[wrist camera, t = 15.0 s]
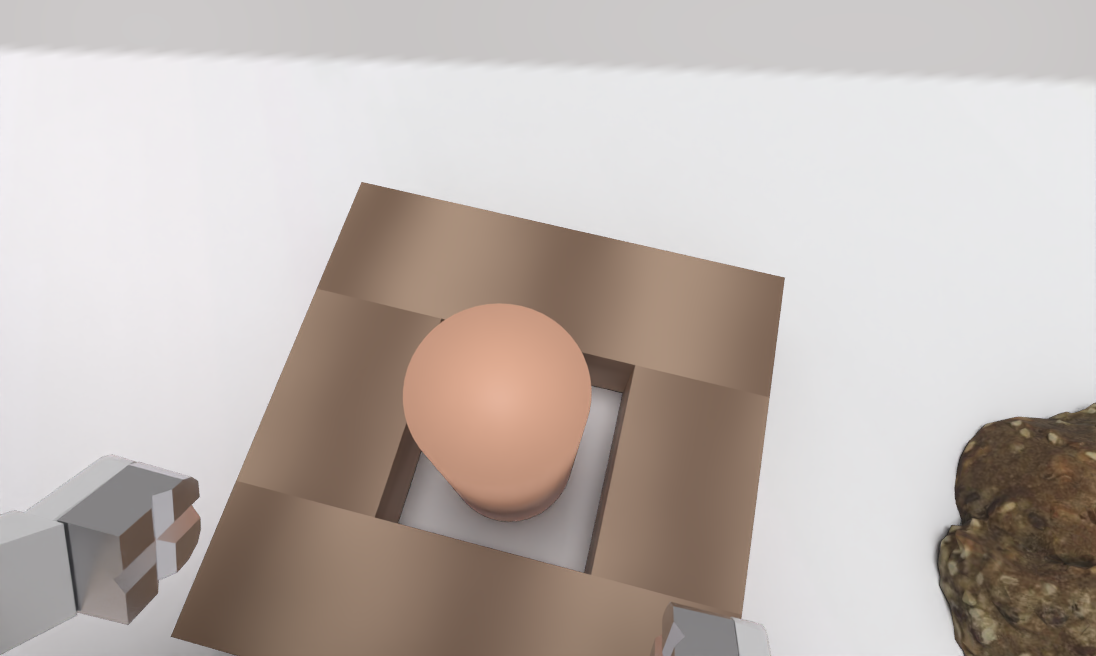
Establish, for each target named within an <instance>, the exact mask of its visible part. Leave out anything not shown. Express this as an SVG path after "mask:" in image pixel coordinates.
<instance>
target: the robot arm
mask: <svg viewBox="0 0 1096 656" xmlns="http://www.w3.org/2000/svg"><path fill="white" fill-rule="evenodd" d="M199 497H200V496H199V485H198V481H197V480H196V479H194V478H192V477H190V476H187V475H183V474H180V473H176V472H173V471H169V470H166V469H162V468H159V467H155V466H152V465H148V464H145V463H142V462H136V461H132V460H129V459H125V458H122V457H119V456H115V455H108V456H104V457H101V458H99V459H98V460H97V461H95V462H94V463H92V464H91V465H90V466H88V467H87V468H85V469H84V470H83V471H81V472H80V473H78V474H77V475H76V476H74V477H73V478H71V479H70V480H69V481H67V482H66V483H64V484H63V485H62V486H60V487H59V488H57V489H56V490H55V491H53V492H52V493H50V494H49V495H48V496H46V497H45V498H43V499H42V500H41V501H39V502H38V503H37V504H35V505H34V506H32V507H31V508H30V509H28V510H27V511H25V512H24V513H23V512H19V511H15V510H14V511H11V512H8V513H4V514H1V515H0V655H1V654H3V653H5V652H7V651H9V650H11V649H13V648H15V647H17V646H19V645H21V644H23V643H24V642H26V641H28V640H30V639H32V638H34V637H36V636H38V635H40V634H42V633H44V632H46V631H48V630H50V629H52V628H54V627H55V626H57V625H59V624H61V623H63V622H65V621H67V620H69V619H71V618H73V617H75V616H76V615H77V612H78V613H82V614H86V615H90V616H94V617H98V618H102V619H106V620H110V621H114V622H118V623H122V624H126V625H129V624H130V623H131V622H132V620H133V619H134V618H135V617H136V616H137V615H138V614H139V613H140V612H141V611H142V610H143V609H144V608H145V607H146V605H147V604H148V603H149V602H150V601H151V600H152V599H153V598H154V597H155V596H156V595H157V594H158V583H159V580H161V579H163V578H166V577H168V576H170V575H173V574H175V573H177V572H178V571H179V570H180V569H181V568H182V566H183V565H184V564H185V563H186V562H187V561H188V560H189V558H190V556H191V554H192V552H193V550H194V548H195V547H196V545H197V543H198V539H199V534H200V530H201V524H200V516H199V515H198V514H197V512H196V511H195V509H194V508H193V506H192V504H193V503H194V502H195V501H196V500H197V499H198V498H199ZM650 656H771V652H770V647H769V642H768V637H767V632H766V629H765V628H764V626H763V625H762V624H759V623H755V622H751V621H747V620H743V619H738V618H734V617H729V616H725V615H721V614H718V613H714V612H710V611H706V610H702V609H698V608H694V607H690V606H686V605H682V604H678V603H674V602H669V604H668V605H667V607H666V609H665V612H664V615H663V617H662V635H660V636H658V637H656V638H655V640H654V643H653V646H652V649H651V652H650Z"/></svg>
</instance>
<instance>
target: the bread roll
mask: <svg viewBox="0 0 1096 656" xmlns="http://www.w3.org/2000/svg"><path fill="white" fill-rule="evenodd" d="M955 500H956V505H957V508H958V511H959V513H960V516H961V519H962V523H961V525H960V526H957V525H951V527H950V530H949V532H948V535H947V536H946V537H945V538H944V539H943V540H942V541H941V546H940V553H939V559H938V567H939V572H940V587H941V589H942V591H943V593H944V595H945V597H946V599H947V600H948V602H949V604H950V607H951V610H952V619H953V625H954V634H955V640H956V642H957V643H958V644H959V646H960V647H961V648H962V649H963V651H964V654H965V656H1096V403H1093V404H1092V405H1090V406H1089V407H1087V408H1086V409H1084V410H1081V411H1079V412H1075V413H1069V412H1064V413H1060V414H1057V415H1055V416H1053V417H1051V418H1049V419H1042V418H1029V417H1014V418H1009V419H1005V420H1001V421H997V422H992V423H988V424H986V425H984V426H983V427H982V428H981V429H980V430H979V431H978V432H977V433H976V435H975V436H974V437H973V438H972V439H971V440H969V442H968V444H967V446H966V447H965V449H964V451H963V453H962V455H961V458H960V461H959V464H958V468H957V475H956V482H955Z"/></svg>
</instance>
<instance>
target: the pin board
mask: <svg viewBox="0 0 1096 656" xmlns="http://www.w3.org/2000/svg"><path fill="white" fill-rule="evenodd" d="M784 280H785V278H784V277H780V276H775V275H771V274H766V273H762V272H757V271H753V270H749V269H744V268H740V267H735V266H731V265H726V264H722V263H718V262H713V261H709V260H704V259H700V258H695V257H691V256H687V255H682V254H678V253H673V252H669V251H664V250H660V249H656V248H651V247H647V246H642V245H638V244H634V243H629V242H625V241H620V240H616V239H611V238H607V237H603V236H598V235H594V234H589V233H585V232H580V231H576V230H572V229H567V228H563V227H558V226H554V225H549V224H545V223H541V222H536V221H532V220H527V219H523V218H518V217H514V216H510V215H505V214H501V213H496V212H492V211H488V210H483V209H479V208H474V207H470V206H465V205H461V204H457V203H452V202H448V201H443V200H439V199H434V198H430V197H426V196H421V195H417V194H412V193H408V192H403V191H399V190H395V189H390V188H386V187H381V186H377V185H372V184H368V183H364V182H361V185H360V187H359V190H358V192H357V194H356V197H355V199H354V202H353V204H352V206H351V209H350V211H349V213H348V216H347V218H346V221H345V223H344V225H343V228H342V230H341V232H340V235H339V237H338V240H337V242H336V244H335V247H334V249H333V252H332V254H331V256H330V259H329V261H328V263H327V266H326V268H325V271H324V273H323V275H322V278H321V280H320V283H319V285H318V287H317V290H316V292H315V294H314V297H313V299H312V302H311V304H310V306H309V309H308V311H307V313H306V316H305V318H304V321H303V323H302V325H301V328H300V330H299V333H298V335H297V337H296V340H295V342H294V344H293V347H292V349H291V352H290V354H289V356H288V359H287V361H286V363H285V366H284V368H283V371H282V373H281V375H280V378H279V380H278V383H277V385H276V387H275V390H274V392H273V394H272V397H271V399H270V402H269V404H268V406H267V409H266V411H265V414H264V416H263V418H262V421H261V423H260V425H259V428H258V430H257V433H256V435H255V437H254V440H253V442H252V444H251V447H250V449H249V452H248V454H247V456H246V459H245V461H244V464H243V466H242V468H241V471H240V473H239V475H238V478H237V480H236V483H235V485H234V487H233V490H232V492H231V494H230V497H229V499H228V502H227V504H226V506H225V509H224V511H223V514H222V516H221V518H220V521H219V523H218V525H217V528H216V530H215V533H214V535H213V537H212V540H211V542H210V545H209V547H208V549H207V552H206V554H205V556H204V559H203V561H202V564H201V566H200V568H199V571H198V573H197V575H196V578H195V580H194V583H193V585H192V587H191V590H190V592H189V595H188V597H187V599H186V602H185V604H184V606H183V609H182V611H181V614H180V616H179V618H178V621H177V623H176V625H175V628H174V630H173V633H172V635H171V637H174V638H177V639H181V640H184V641H188V642H191V643H195V644H198V645H202V646H205V647H209V648H212V649H216V650H219V651H223V652H226V653H230V654H233V655H237V656H650V652H651V649H652V646H653V643H654V640H655V638H656V637H658V636H660V635H662V617H663V615H664V612H665V609H666V607H667V605H668V604H669V602H674V603H678V604H682V605H686V606H690V607H694V608H698V609H702V610H706V611H710V612H714V613H718V614H721V615H725V616H729V617H734V618H738V619H741V617H742V609H743V601H744V593H745V585H746V577H747V570H748V562H749V554H750V546H751V538H752V530H753V522H754V515H755V507H756V499H757V491H758V483H759V475H760V468H761V460H762V452H763V444H764V436H765V428H766V421H767V413H768V405H769V397H770V389H771V381H772V374H773V366H774V358H775V350H776V342H777V334H778V327H779V319H780V311H781V303H782V295H783V287H784ZM497 303H501V304H513V305H519V306H523V307H527V308H530V309H533V310H535V311H538V312H540V313H542V314H544V315H546V316H547V317H549V318H551V319H552V320H554V321H555V322H556V323H558V324H559V325H560V326H562V327H563V328H564V329H565V330H566V331H567V332H568V333H569V334H570V336H571V337H572V338H573V340H574V341H575V342H576V344H577V345H578V347H579V348H580V350H581V352H582V354H583V356H584V358H585V361H586V363H587V366H588V370H589V374H590V380H591V385H593V386H597V387H601V388H605V389H609V390H613V391H617V392H621V393H623V394H622V399H621V404H620V408H619V413H618V418H617V422H616V427H615V432H614V436H613V441H612V446H611V450H610V455H609V460H608V464H607V469H606V474H605V478H604V483H603V488H602V492H601V497H600V502H599V506H598V511H597V516H596V520H595V525H594V530H593V534H592V539H591V544H590V548H589V553H588V558H587V562H586V567H585V572H584V573H582V572H578V571H575V570H571V569H567V568H563V567H560V566H556V565H552V564H548V563H544V562H541V561H537V560H533V559H529V558H526V557H522V556H518V555H514V554H511V553H507V552H503V551H499V550H495V549H492V548H488V547H484V546H480V545H477V544H473V543H469V542H465V541H462V540H458V539H454V538H450V537H446V536H443V535H439V534H435V533H431V532H428V531H424V530H420V529H416V528H413V527H409V526H405V525H401V524H398V521H399V518H400V515H401V512H402V509H403V506H404V503H405V499H406V496H407V493H408V490H409V487H410V484H411V481H412V478H413V475H414V472H415V468H416V465H417V462H418V459H419V456H420V453H421V449H420V448H419V447H418V445H417V443H416V442H415V440H414V439H413V437H412V434H411V432H410V430H409V428H408V425H407V421H406V418H405V414H404V407H403V386H404V379H405V375H406V372H407V368H408V365H409V363H410V361H411V358H412V356H413V354H414V353H415V351H416V349H417V347H418V346H419V345H420V343H421V342H422V341H423V339H424V338H425V337H426V336H427V335H428V334H429V333H430V332H431V331H432V330H433V329H434V328H435V327H436V326H437V325H439V324H440V323H441V322H442V321H444V320H446V319H447V318H449V317H451V316H452V315H454V314H456V313H458V312H461V311H463V310H465V309H469V308H472V307H475V306H480V305H485V304H497Z"/></svg>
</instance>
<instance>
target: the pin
mask: <svg viewBox="0 0 1096 656" xmlns="http://www.w3.org/2000/svg"><path fill="white" fill-rule="evenodd" d="M590 405H591V380H590V374H589V370H588V366H587V363H586V361H585V358H584V356H583V354H582V352H581V350H580V348H579V347H578V345H577V344H576V342H575V341H574V340H573V338H572V337H571V336H570V334H569V333H568V332H567V331H566V330H565V329H564V328H563V327H562V326H560V325H559V324H558V323H556V322H555V321H554V320H552V319H551V318H549V317H547V316H546V315H544V314H542V313H540V312H538V311H535V310H533V309H530V308H527V307H523V306H519V305H513V304H501V303H497V304H485V305H480V306H475V307H472V308H469V309H465V310H463V311H461V312H458V313H456V314H454V315H452V316H451V317H449V318H447V319H446V320H444V321H442V322H441V323H440V324H439V325H437V326H436V327H435V328H434V329H433V330H432V331H431V332H430V333H429V334H428V335H427V336H426V337H425V338H424V339H423V341H422V342H421V343H420V345H419V346H418V347H417V349H416V351H415V353H414V354H413V356H412V358H411V361H410V363H409V365H408V368H407V372H406V375H405V379H404V386H403V407H404V414H405V418H406V421H407V425H408V428H409V430H410V432H411V434H412V437H413V439H414V440H415V442H416V443H417V445H418V447H419V448H420V449H421V450H422V452H423V453H424V454H425V455H426V456H427V458H428V459H429V460H430V461H431V462H432V464H433V465H434V466H435V467H436V468H437V469H438V471H439V472H440V473H441V474H442V475H443V477H444V478H445V479H446V480H447V481H448V482H449V484H450V485H451V486H452V487H453V488H454V489H455V491H456V492H457V493H458V494H459V495H460V497H461V498H462V499H463V500H464V501H465V502H466V504H468V505H469V506H470V507H471V508H472V509H473V510H475V511H476V512H478V513H479V514H481V515H483V516H485V517H488V518H491V519H494V520H499V521H509V522H511V521H521V520H525V519H529V518H531V517H534V516H536V515H538V514H540V513H542V512H543V511H545V510H546V509H547V508H549V507H550V506H551V505H552V504H553V503H554V502H555V501H556V500H557V499H558V498H559V496H560V495H561V493H562V492H563V490H564V489H565V486H566V484H567V482H568V479H569V476H570V473H571V470H572V466H573V463H574V460H575V457H576V454H577V450H578V447H579V444H580V441H581V438H582V434H583V431H584V428H585V425H586V421H587V418H588V415H589V411H590Z"/></svg>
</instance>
